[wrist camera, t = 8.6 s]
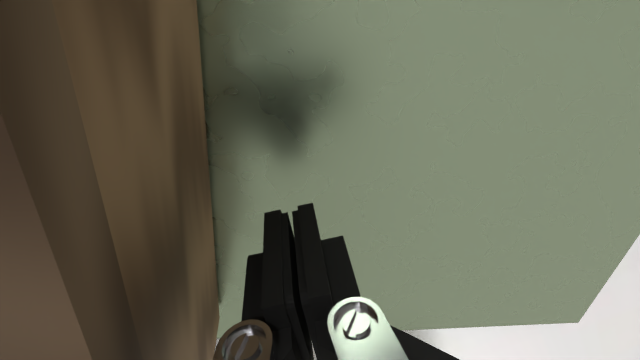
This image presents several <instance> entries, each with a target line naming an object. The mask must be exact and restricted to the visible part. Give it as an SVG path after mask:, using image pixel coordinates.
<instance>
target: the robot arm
mask: <svg viewBox="0 0 640 360" xmlns="http://www.w3.org/2000/svg"><path fill="white" fill-rule="evenodd" d="M297 208H298V210H296V211H292V217H293V228H294V234H293V231H292V227H291V223H290V219H289V215H288V213H287V212H286V213H282V212H281V210H275V211H270V212H266V213H264V235H263V253H258V254H253V255H249V256H248V258H247V266H246V277H245V287H244V298H243V309H242V320H241V322H239V323H237V324H235V325H233V326H232V327H231V328H229V329H228V330H227V331H226V332H225V333H224V334H223V336H222V337H221V338H220V340H219V342H218V344H217V347H216V350H215V353H214V356H213V360H314V358H313V349H312V343H313V347H314V350H315V354H316V357H317V360H459V359H457V358H455V357H453V356H451V355H449V354H447V353H445V352H443V351H441V350H439V349H437V348H435V347H433V346H431V345H429V344H427V343H425V342H423V341H421V340H419V339H417V338H415V337H413V336H411V335H409V334H407V333H405V332H403V331H401V330H399V329H397V328H395V327H393V326H391V325H389V323H388V321H387V319H386V317H385V315H384V314H383V312H382V310H381V309H380V308H379V306H378V305H377V304H376V303H374V302H373V301H371V300H370V299H366V298H363V297H361V295H360V292H359V289H358V285H357V282H356V278H355V275H354V271H353V268H352V265H351V261H350V258H349V254H348V251H347V247H346V244H345V241H344V237H343V236H338V237H333V238H328V239H324V240H321V238H320V234H319V229H318V224H317V219H316V215H315V210H314V205H313V203H309V204H304V205H299V206H297Z"/></svg>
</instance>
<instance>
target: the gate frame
mask: <svg viewBox="0 0 640 360" xmlns="http://www.w3.org/2000/svg"><path fill="white" fill-rule="evenodd" d="M197 14H198V27H199V41H200V55H201V69H202V82H203V96H204V110H205V124H206V137H207V151H208V165H209V179H210V192H211V206H212V220H213V234H214V247H215V261H216V275H217V289H218V302H219V316H220V319H219V326H218V332H217V338H221V337H222V336H223V334H224V333H225V332H226V331H227V330H228V329H229V328H231V327H232V326H233V325H235V324H237V323H239V322H241V320H242V309H243V298H244V287H245V277H246V266H247V258H248V256H249V255H253V254H258V253H263V235H264V213H266V212H270V211H275V210H281V212H282V213H286V212H287V213H288V215H289V219H290V223H291V227H292V231H293V234H294V228H293V217H292V211H296V210H298V208H297V206H299V205H304V204H309V203H313V205H314V210H315V215H316V219H317V224H318V229H319V234H320V238H321V240H324V239H328V238H333V237H338V236H343V237H344V241H345V244H346V247H347V251H348V254H349V258H350V261H351V265H352V268H353V271H354V275H355V278H356V282H357V285H358V289H359V292H360V295H361V297H363V298H366V299H370V300H371V301H373V302H374V303H376V304H377V305H378V306H379V308H380V309H381V310H382V312H383V314H384V315H385V317H386V319H387V321H388V323H389V325H391V326H393V327H395V328H397V329H399V330H419V329H442V328H465V327H487V326H510V325H533V324H555V323H578V322H579V321H580V319H581V318H582V316H583V315H584V313H585V312H586V311H587V309H588V308H589V306H590V305H591V303H592V302H593V301H594V299H595V298H596V296H597V295H598V293H599V292H600V290H601V289H602V288H603V286H604V285H605V283H606V282H607V280H608V279H609V277H610V276H611V275H612V273H613V272H614V270H615V269H616V267H617V266H618V264H619V263H620V262H621V260H622V259H623V257H624V256H625V254H626V253H627V252H628V250H629V249H630V247H631V246H632V244H633V243H634V241H635V240H636V239H637V237H638V236H639V234H640V0H197Z"/></svg>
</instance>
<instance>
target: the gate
mask: <svg viewBox="0 0 640 360" xmlns="http://www.w3.org/2000/svg"><path fill="white" fill-rule="evenodd" d="M219 319H220V316H219V302H218V289H217V275H216V261H215V247H214V234H213V220H212V206H211V192H210V179H209V165H208V151H207V137H206V124H205V110H204V96H203V82H202V69H201V55H200V41H199V27H198V14H197V0H0V360H213V356H214V351H215V345H216V338H217V332H218V326H219Z"/></svg>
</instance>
